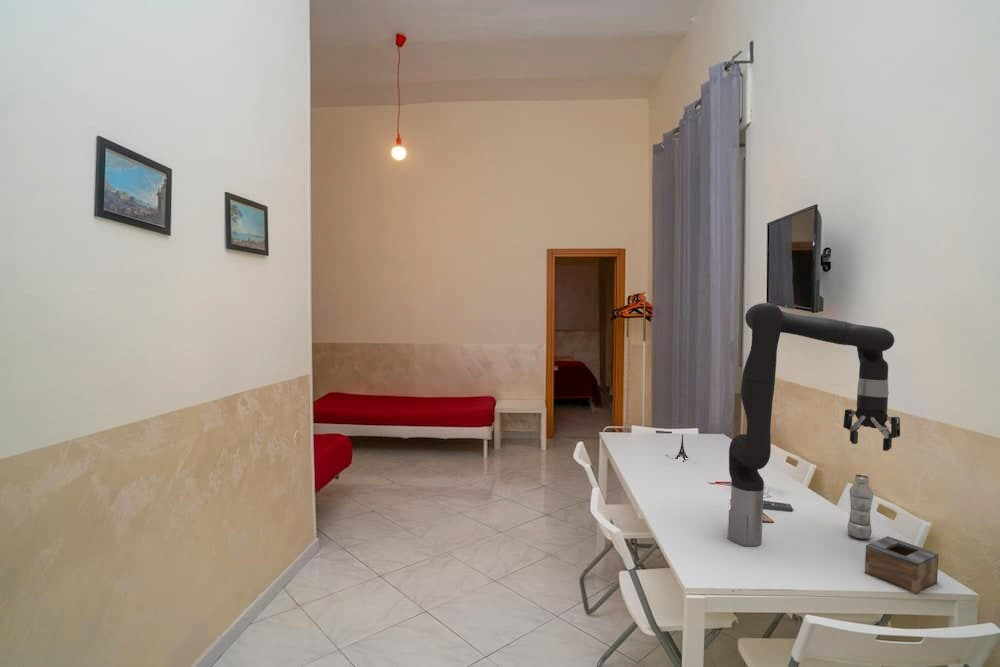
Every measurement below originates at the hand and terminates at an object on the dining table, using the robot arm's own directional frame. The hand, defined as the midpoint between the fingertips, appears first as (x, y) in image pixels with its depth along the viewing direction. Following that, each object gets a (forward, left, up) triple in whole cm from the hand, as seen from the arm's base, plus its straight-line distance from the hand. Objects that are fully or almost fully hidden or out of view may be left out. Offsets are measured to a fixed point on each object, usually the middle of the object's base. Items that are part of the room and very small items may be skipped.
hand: (869, 447), depth 155 cm
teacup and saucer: (+18, +49, -33) cm, 62 cm away
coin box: (-9, -13, -32) cm, 36 cm away
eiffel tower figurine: (+28, +95, -33) cm, 105 cm away
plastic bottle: (+9, +6, -32) cm, 34 cm away
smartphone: (-4, +34, -33) cm, 47 cm away
